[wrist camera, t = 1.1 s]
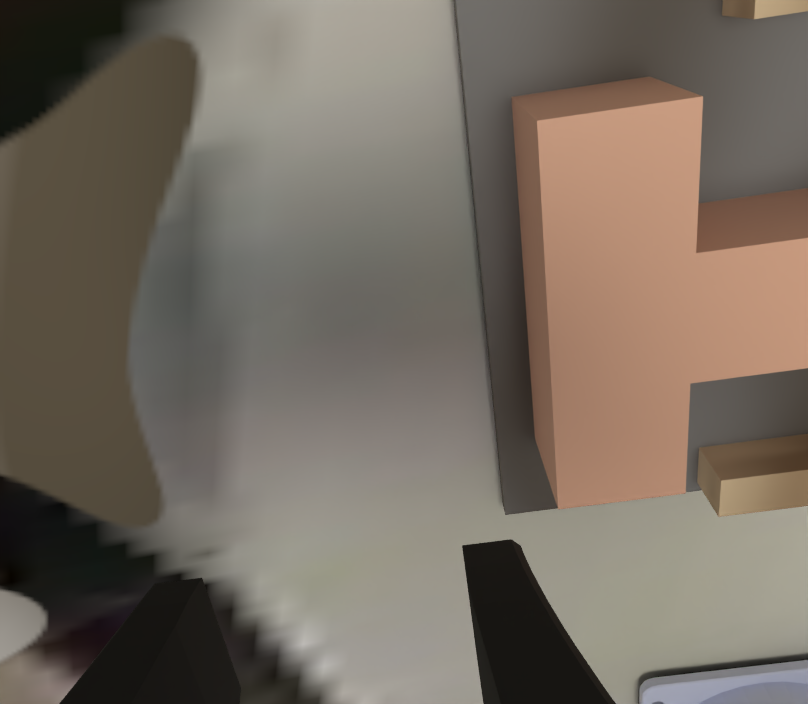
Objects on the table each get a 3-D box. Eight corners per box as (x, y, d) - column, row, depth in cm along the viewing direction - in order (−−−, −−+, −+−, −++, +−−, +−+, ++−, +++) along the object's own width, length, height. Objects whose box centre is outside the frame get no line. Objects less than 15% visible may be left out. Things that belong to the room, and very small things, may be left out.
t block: (979, 27, 16) (1102, 37, 13) (907, 390, 20) (989, 455, 17) (511, 96, 16) (536, 120, 13) (534, 439, 20) (558, 509, 17)
